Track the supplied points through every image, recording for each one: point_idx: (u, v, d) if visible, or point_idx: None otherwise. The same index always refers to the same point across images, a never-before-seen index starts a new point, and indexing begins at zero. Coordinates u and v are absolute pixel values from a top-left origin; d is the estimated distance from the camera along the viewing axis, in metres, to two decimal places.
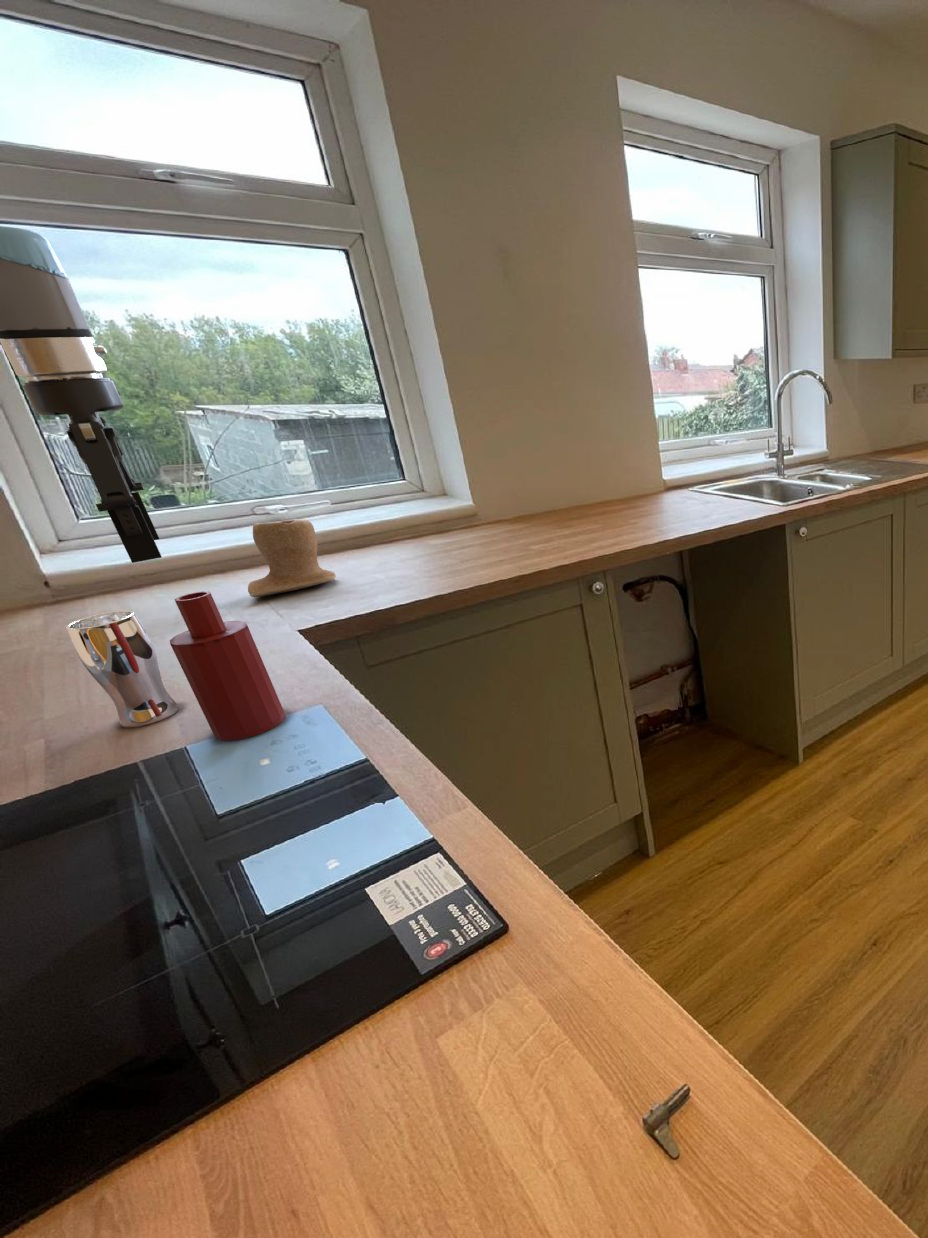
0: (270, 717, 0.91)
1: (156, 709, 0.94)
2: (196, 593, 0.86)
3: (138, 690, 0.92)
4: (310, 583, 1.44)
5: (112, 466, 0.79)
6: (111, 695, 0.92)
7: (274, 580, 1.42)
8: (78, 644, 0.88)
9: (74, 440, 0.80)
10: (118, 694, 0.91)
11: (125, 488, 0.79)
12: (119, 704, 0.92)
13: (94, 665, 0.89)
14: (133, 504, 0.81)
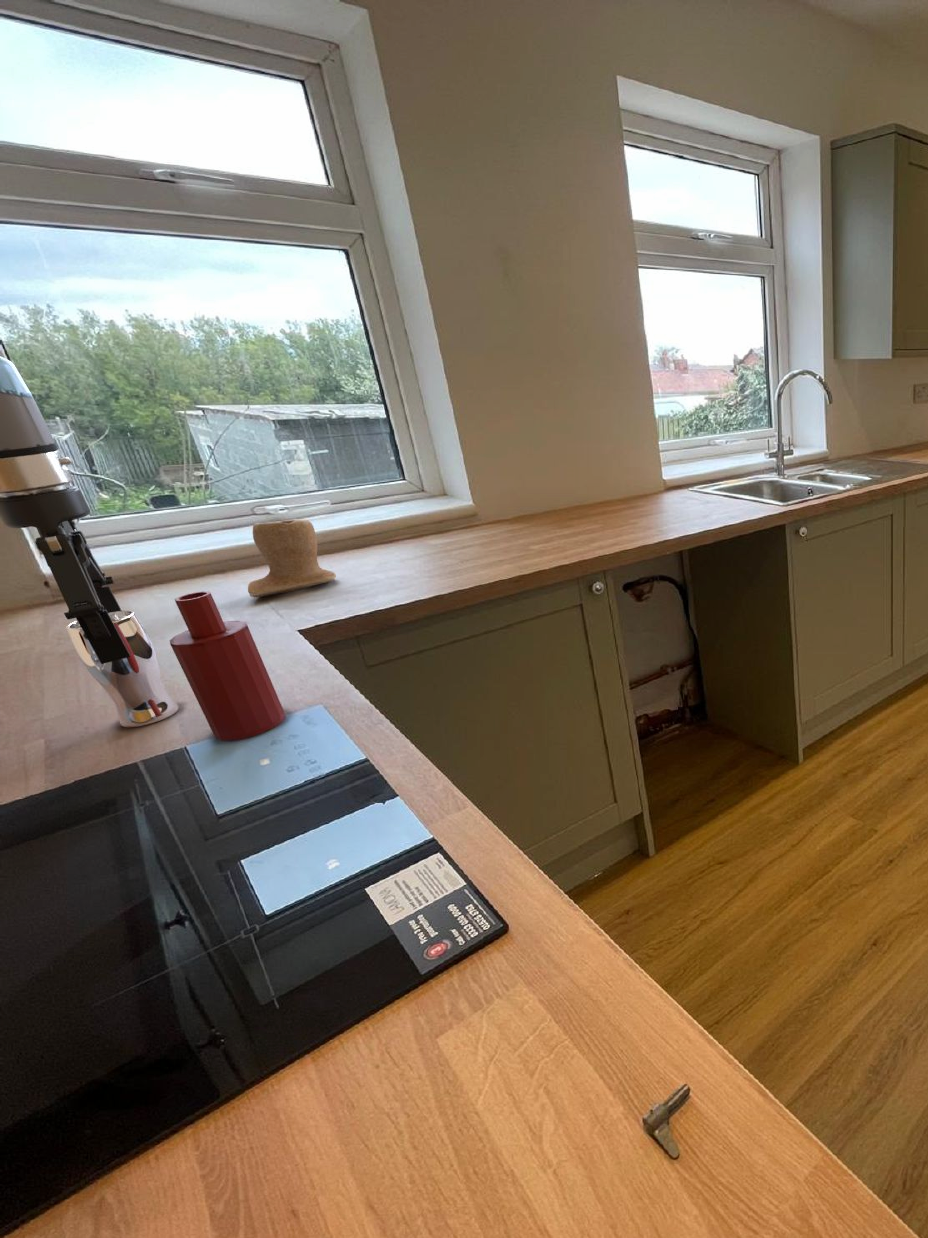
0: (270, 717, 0.91)
1: (156, 709, 0.94)
2: (196, 593, 0.86)
3: (138, 690, 0.92)
4: (310, 583, 1.44)
5: (79, 576, 0.82)
6: (111, 695, 0.92)
7: (274, 580, 1.42)
8: (78, 644, 0.88)
9: None
10: (118, 694, 0.91)
11: (92, 597, 0.82)
12: (119, 704, 0.92)
13: (94, 665, 0.89)
14: (101, 610, 0.84)
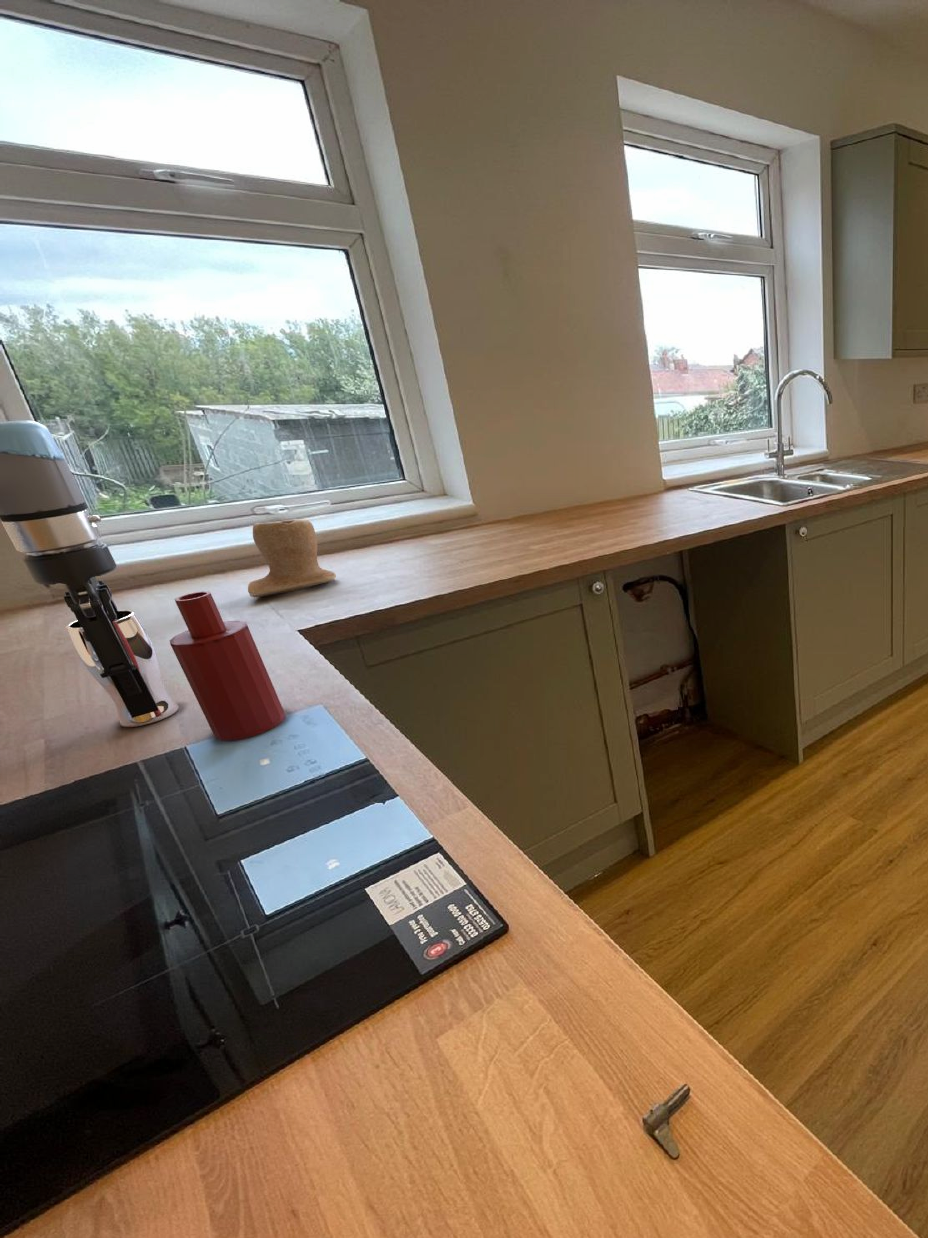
0: (270, 717, 0.91)
1: None
2: (196, 593, 0.86)
3: None
4: (310, 583, 1.44)
5: (113, 640, 0.87)
6: (111, 695, 0.92)
7: (274, 580, 1.42)
8: (78, 643, 0.88)
9: None
10: (118, 694, 0.91)
11: (126, 659, 0.88)
12: (119, 704, 0.92)
13: (94, 664, 0.89)
14: (133, 669, 0.90)
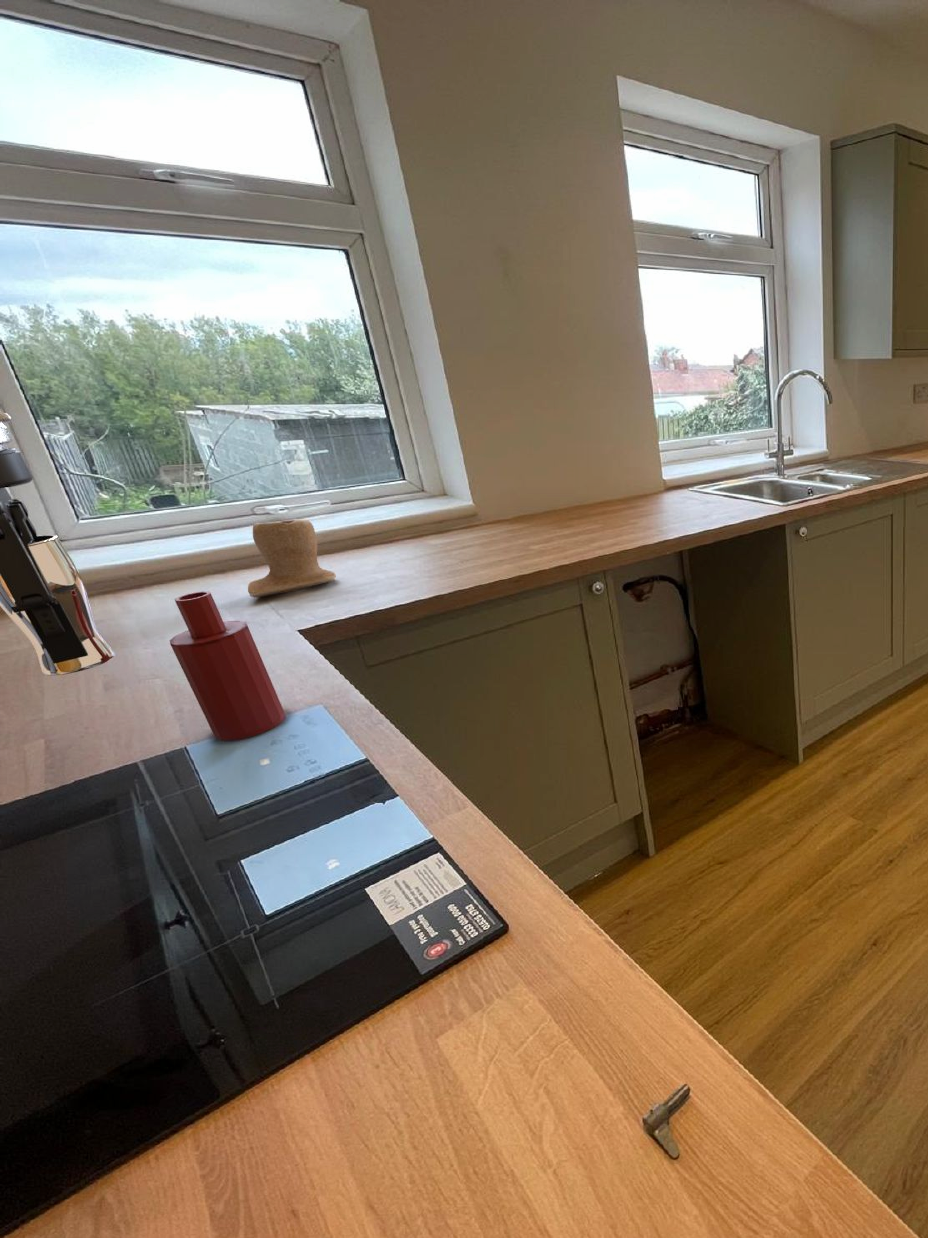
0: (270, 717, 0.91)
1: None
2: (196, 593, 0.86)
3: None
4: (310, 583, 1.44)
5: (26, 565, 0.71)
6: (29, 635, 0.76)
7: (274, 580, 1.42)
8: None
9: None
10: (37, 634, 0.76)
11: (43, 589, 0.72)
12: (39, 647, 0.76)
13: (5, 597, 0.73)
14: (54, 604, 0.74)
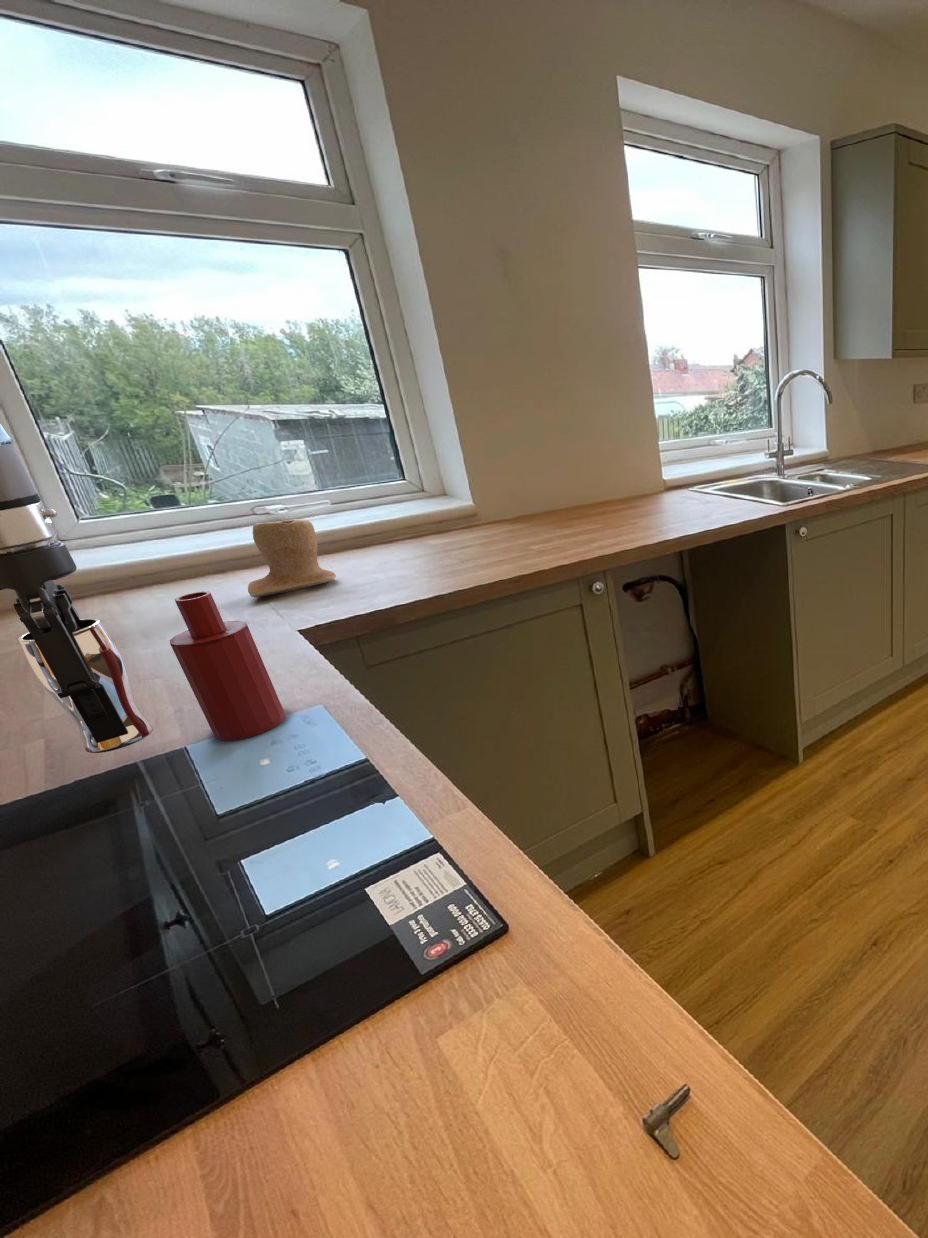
0: (270, 717, 0.91)
1: None
2: (196, 593, 0.86)
3: None
4: (310, 583, 1.44)
5: (71, 655, 0.74)
6: (73, 716, 0.79)
7: (274, 580, 1.42)
8: (32, 658, 0.76)
9: None
10: None
11: (87, 676, 0.76)
12: (82, 727, 0.80)
13: (52, 682, 0.77)
14: (97, 688, 0.78)
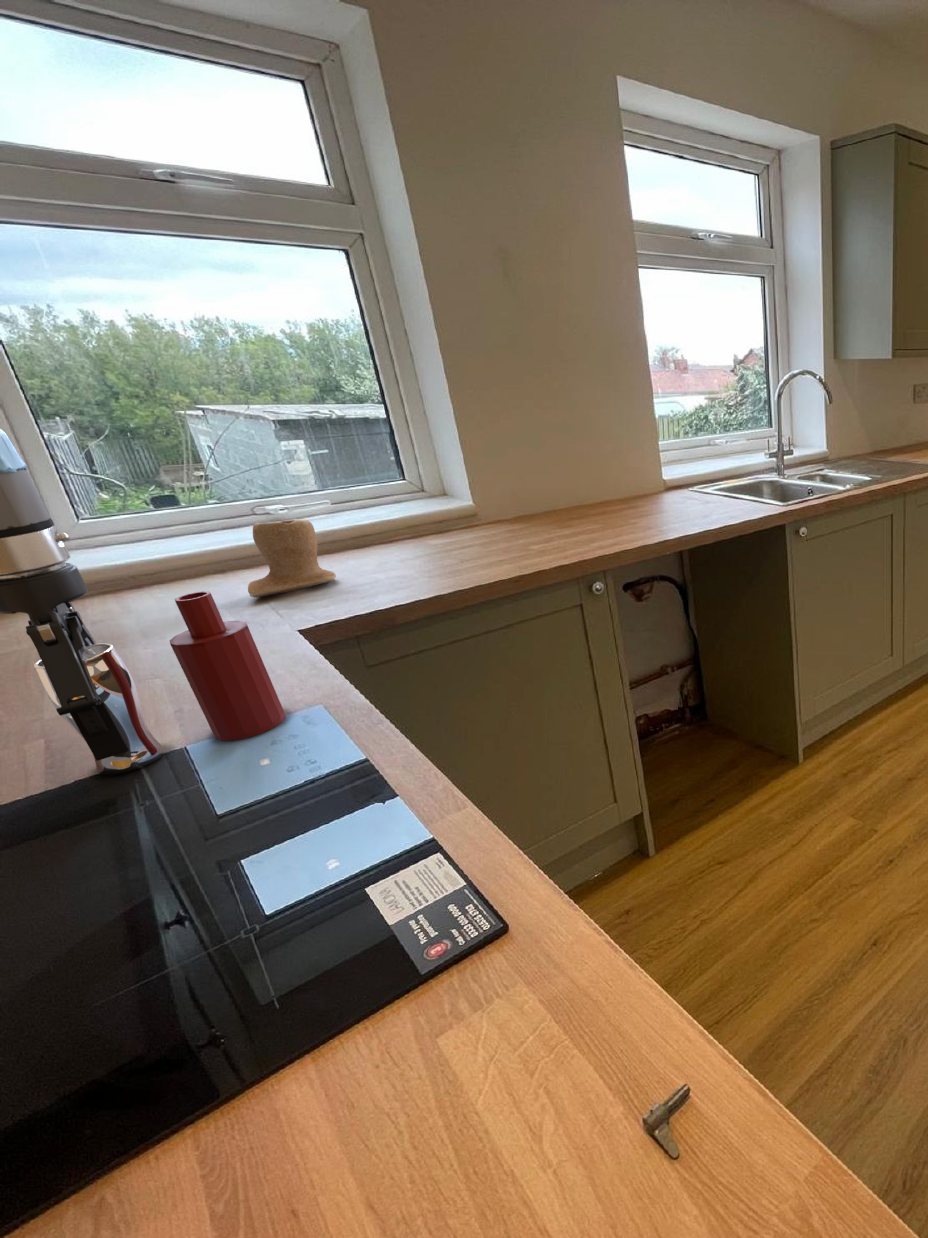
0: (270, 717, 0.91)
1: (138, 755, 0.83)
2: (196, 593, 0.86)
3: None
4: (310, 583, 1.44)
5: (74, 668, 0.73)
6: None
7: (274, 580, 1.42)
8: (48, 684, 0.77)
9: None
10: None
11: (88, 691, 0.74)
12: None
13: None
14: (97, 703, 0.76)
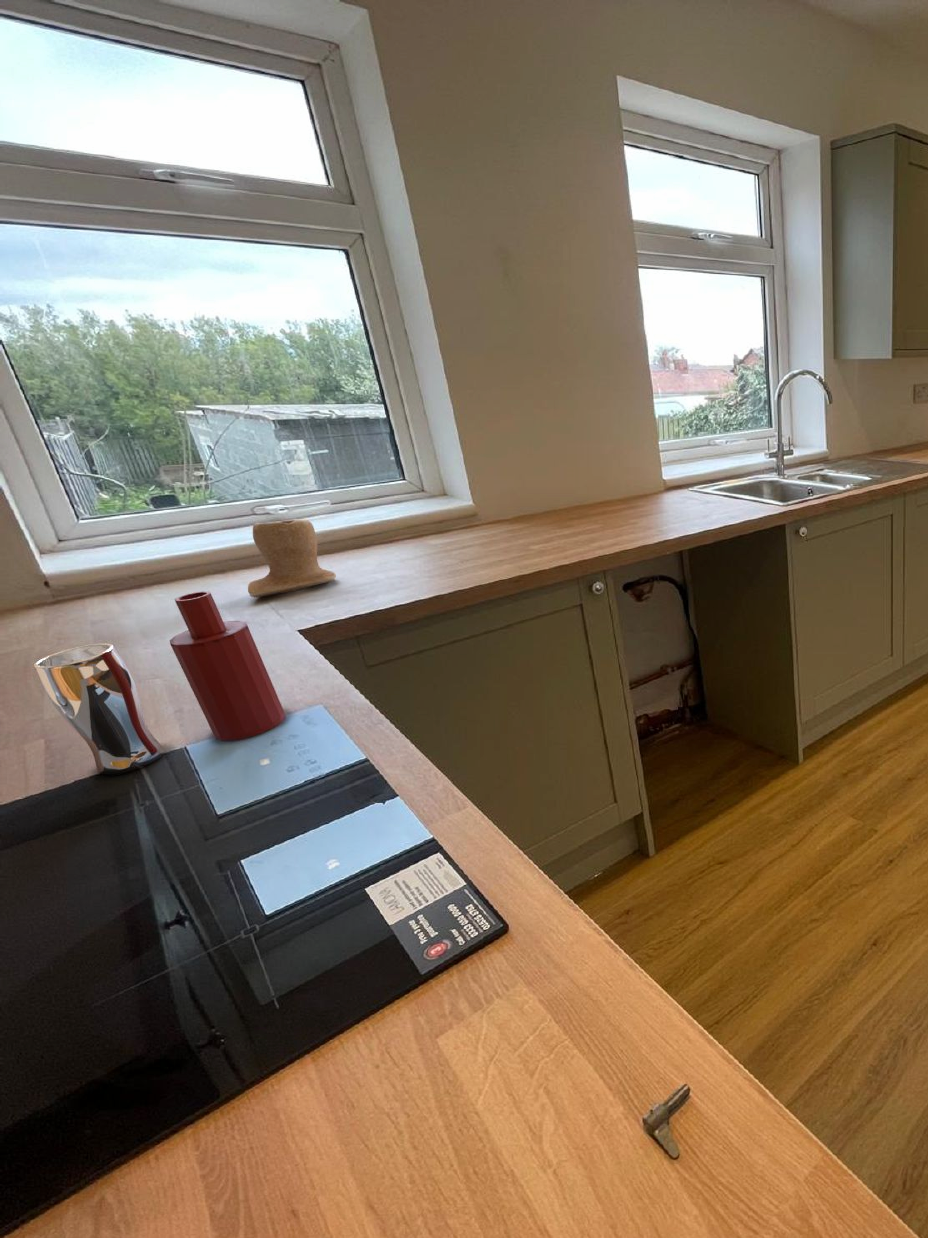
0: (270, 717, 0.91)
1: (138, 755, 0.83)
2: (196, 593, 0.86)
3: (117, 734, 0.81)
4: (310, 583, 1.44)
5: None
6: (87, 740, 0.81)
7: (274, 580, 1.42)
8: (48, 684, 0.77)
9: None
10: (95, 739, 0.81)
11: None
12: (96, 750, 0.81)
13: (66, 707, 0.78)
14: None
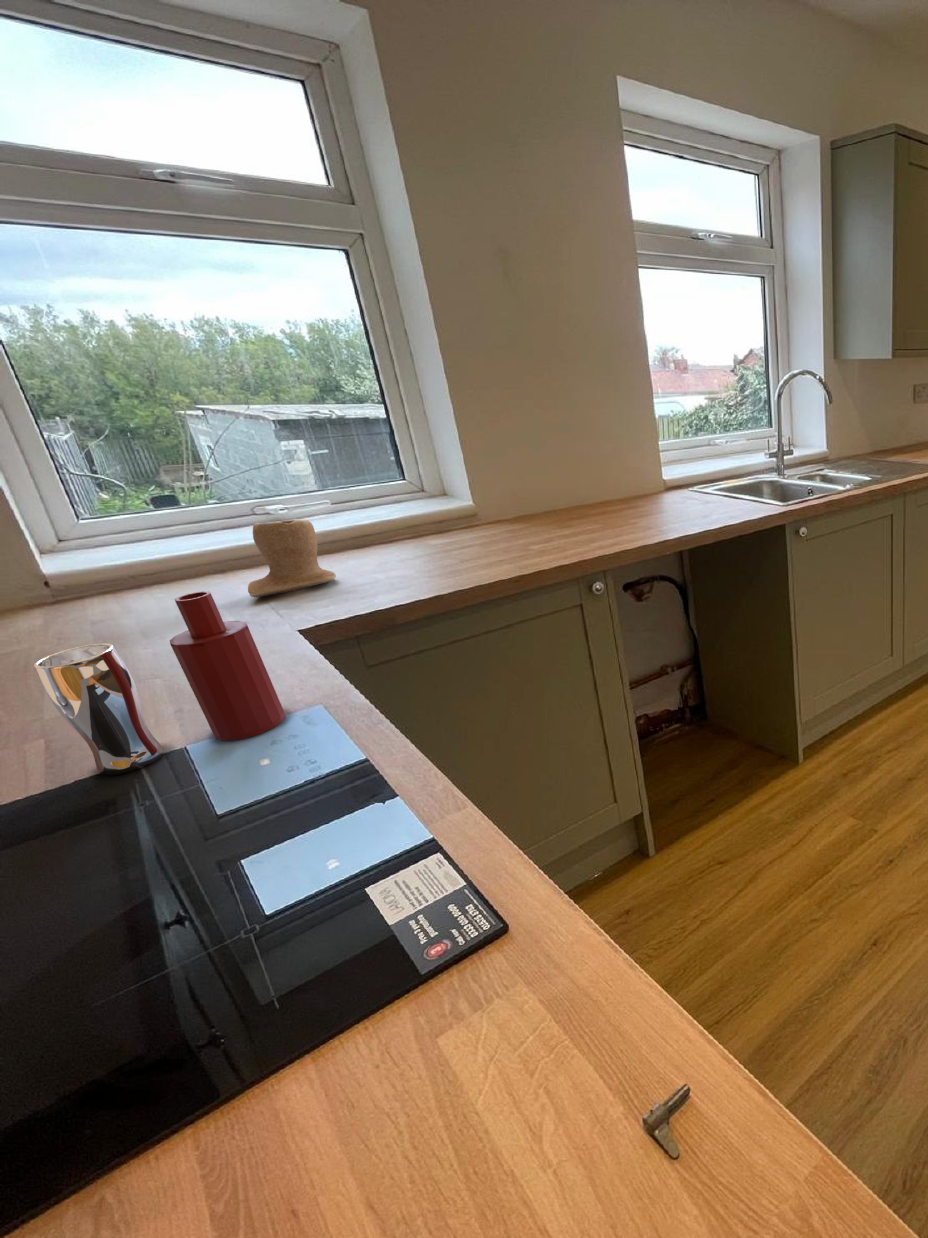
0: (270, 717, 0.91)
1: (138, 755, 0.83)
2: (196, 593, 0.86)
3: (117, 734, 0.81)
4: (310, 583, 1.44)
5: None
6: (87, 740, 0.81)
7: (274, 580, 1.42)
8: (48, 684, 0.77)
9: None
10: (95, 739, 0.81)
11: None
12: (96, 750, 0.81)
13: (66, 707, 0.78)
14: None
